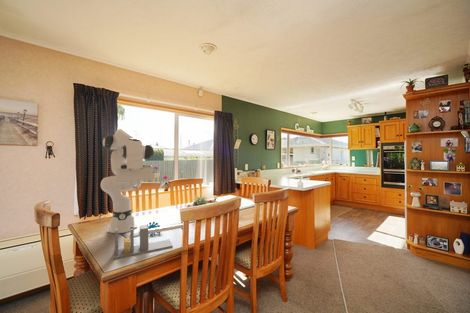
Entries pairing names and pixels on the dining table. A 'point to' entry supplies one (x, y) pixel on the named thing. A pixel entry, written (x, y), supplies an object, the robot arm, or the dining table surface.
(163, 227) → the shaft
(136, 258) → the dining table surface
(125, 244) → the spacer
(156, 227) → the gear
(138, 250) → the bearing base
